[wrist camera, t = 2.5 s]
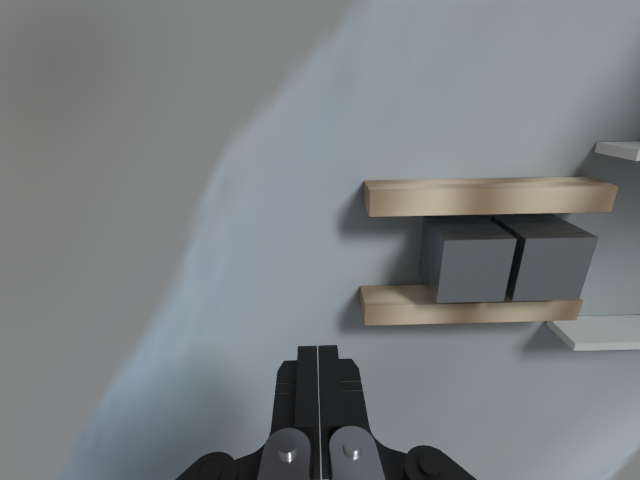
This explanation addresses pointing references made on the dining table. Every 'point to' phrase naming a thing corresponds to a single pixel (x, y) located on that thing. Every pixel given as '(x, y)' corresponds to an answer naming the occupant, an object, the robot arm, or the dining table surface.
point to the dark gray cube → (547, 257)
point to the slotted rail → (474, 200)
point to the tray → (603, 329)
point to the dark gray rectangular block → (465, 259)
